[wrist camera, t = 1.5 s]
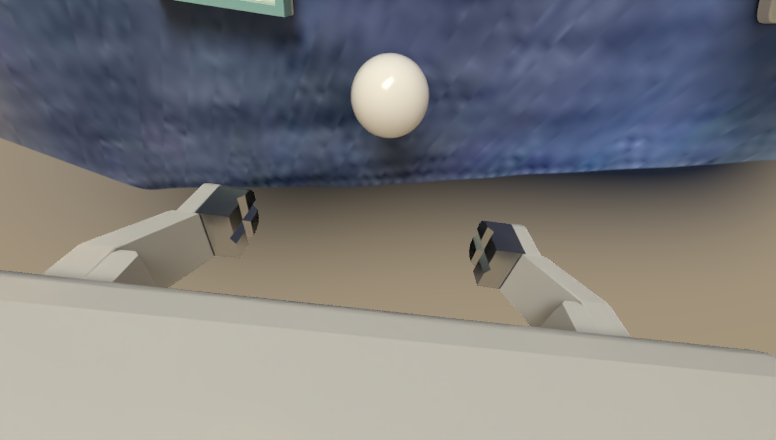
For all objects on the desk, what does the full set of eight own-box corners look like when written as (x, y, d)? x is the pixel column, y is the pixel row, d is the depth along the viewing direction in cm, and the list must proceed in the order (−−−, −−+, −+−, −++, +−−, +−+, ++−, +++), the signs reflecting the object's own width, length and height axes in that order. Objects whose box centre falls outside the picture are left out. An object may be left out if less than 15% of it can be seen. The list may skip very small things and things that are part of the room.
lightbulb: (370, 111, 32) (359, 157, 23) (354, 47, 28) (332, 74, 19) (427, 99, 30) (436, 143, 22) (418, 30, 27) (425, 51, 18)
